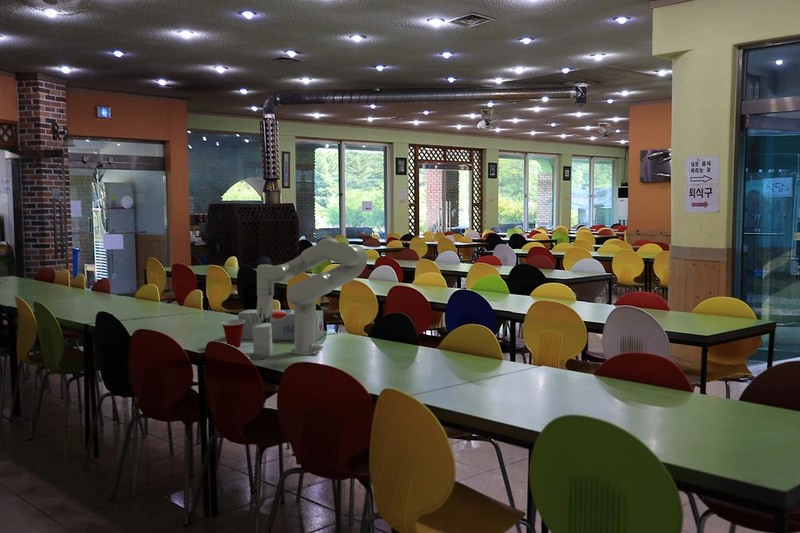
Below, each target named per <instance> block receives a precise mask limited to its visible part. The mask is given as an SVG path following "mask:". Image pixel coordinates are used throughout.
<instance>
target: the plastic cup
mask: <svg viewBox="0 0 800 533" xmlns="http://www.w3.org/2000/svg"><path fill="white" fill-rule="evenodd" d="M244 323H245V321H244V320H238V319H229V320H228V319H227V320H224V321H222V322H221V323H220V324H221V325H222V328H223V330H224V331H223V332H224V336H225V337H224V338H225V341H226V345H227V344H230V345H233V346H235V347H236V348H240V347H241V343H242V340H243V339H242V332H243V326H244Z"/></svg>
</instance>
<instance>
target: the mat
mask: <svg viewBox="0 0 800 533" xmlns="http://www.w3.org/2000/svg"><path fill="white" fill-rule="evenodd" d="M248 356H249V357H250V359H251V360H252V361H255V360H256V361H264V360H265V359H266V358H268V357H269V356H270V354H269V355H255V354H254V353H253V354H250V355H248ZM251 360H250V361H251Z"/></svg>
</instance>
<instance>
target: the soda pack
mask: <svg viewBox="0 0 800 533" xmlns="http://www.w3.org/2000/svg"><path fill="white" fill-rule="evenodd" d="M237 316H238V318H237V320H244V321H245V323H244V326H243V332H242V339H241V340H253V329H252V328H253V326H254V325H255V324H256V323H262V321H261V317H260V318H257V309H245V310H243V311H240V312H238V313H237ZM270 323H271V326H272V341H294V309H273V315H272V316H271V318H270ZM323 337H324V310H316V342H317V341H319V340H320V339H322V338H323Z"/></svg>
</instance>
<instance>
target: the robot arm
mask: <svg viewBox="0 0 800 533" xmlns="http://www.w3.org/2000/svg"><path fill="white" fill-rule="evenodd" d="M327 261H330V262H333V263H336V264H339V265H337V266H334V267H333V268H331V269H329V270H327V271H324V272H319V273H316V274H314V275H311V276H309V277H306V278H305V279H302V280H300V281H299V282H297V283H295V284H292V285H291V286H290V287H289V288H288V290H287V293H286V298H287V299H286V300H287V301H288V302H289V303H290V304H291V305H292V306H294V309H293V310H294V340H293V341H294V348H292V349H291V350H290V353H291V354H293V355H297V356H310V355H317V354H319V353H320V352H321V351H322V350H323V348H324V346H323V345H319V342H317V341H316V309H317V308H316V307H317V299H318V298H320V297H323V296H325V295H327V294H329V293H331V292H333V291H334V290H336V289H338V288H340V287H341V286H344V285H346V284H347V283H349V282H352V281H353V280H354V279H356V278H358V277H359V276H360V275H361V274H362V273H363V271H364V270H365V269H366V266H367V263H368V253H367V250H366V249H365V248H364V247H363V246H361V245H358V244H354V245H346V244H344V243H340V242H339V241H338V239H336V238H334V237H324V238H322V239H320V240H319V241H318V242H317V243H316V244H313V245H312V246H310V247H308V248H306V249H304V250H303V251H302V252H301V254H299V255H298V256H297V257H295V258H294V259H292V260H289V261H287V262H285V263H282V264H278V265H272V264H258V266H257V267H256V297H257V300H256V301H257V303H256V310H257V318H260V317H261V321H262V323H270V318H271V316H272V315H273V310H274V296H275V282H276V283H282V282H285V281H289V280H291V279H293V278H295V277H298V276H299V275H301V274H304V273H305V272H307V271H309V270H311V269H313V268H314V267H317V266H319V265H320V264H322V263H325V262H327Z"/></svg>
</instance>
